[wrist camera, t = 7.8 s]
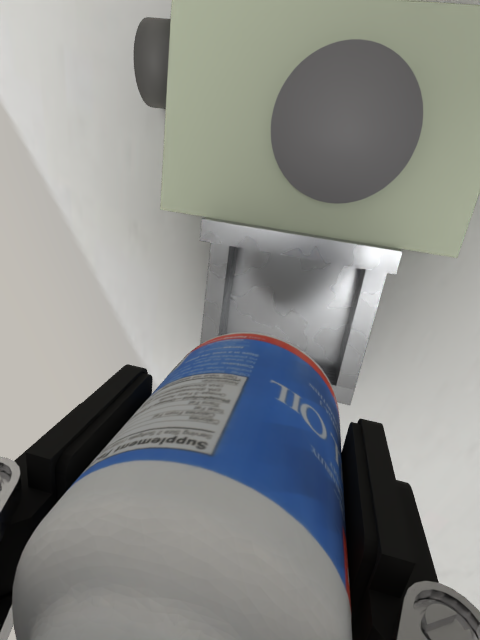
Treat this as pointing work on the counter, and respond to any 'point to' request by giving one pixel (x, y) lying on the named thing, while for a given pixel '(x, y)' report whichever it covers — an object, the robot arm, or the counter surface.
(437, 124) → the green block with knobs
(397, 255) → the gray square tray
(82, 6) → the counter surface
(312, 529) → the pill bottle
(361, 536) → the robot arm
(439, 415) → the counter surface
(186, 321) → the counter surface
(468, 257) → the counter surface
